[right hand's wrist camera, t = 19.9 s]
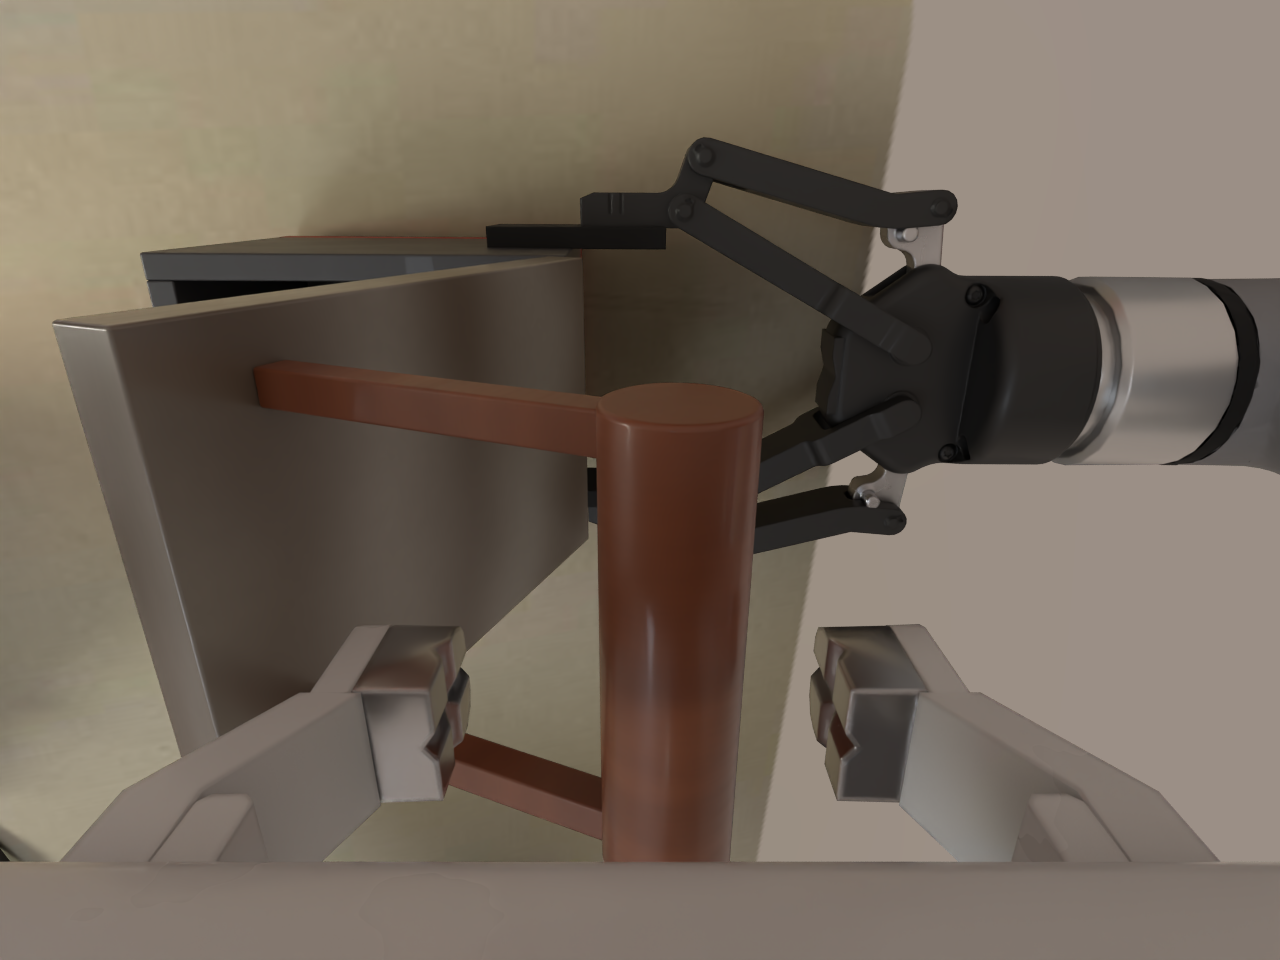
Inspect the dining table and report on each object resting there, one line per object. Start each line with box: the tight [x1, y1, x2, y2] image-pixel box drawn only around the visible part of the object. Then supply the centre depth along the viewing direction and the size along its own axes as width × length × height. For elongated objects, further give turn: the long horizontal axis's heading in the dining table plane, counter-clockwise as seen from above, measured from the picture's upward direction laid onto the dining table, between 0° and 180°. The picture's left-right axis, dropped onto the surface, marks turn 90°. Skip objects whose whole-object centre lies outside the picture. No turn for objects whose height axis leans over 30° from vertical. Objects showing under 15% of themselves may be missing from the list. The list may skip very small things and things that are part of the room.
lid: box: [52, 256, 764, 862], centre depth 16 cm, size 14×10×10 cm
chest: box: [140, 236, 582, 307], centre depth 29 cm, size 13×10×11 cm
